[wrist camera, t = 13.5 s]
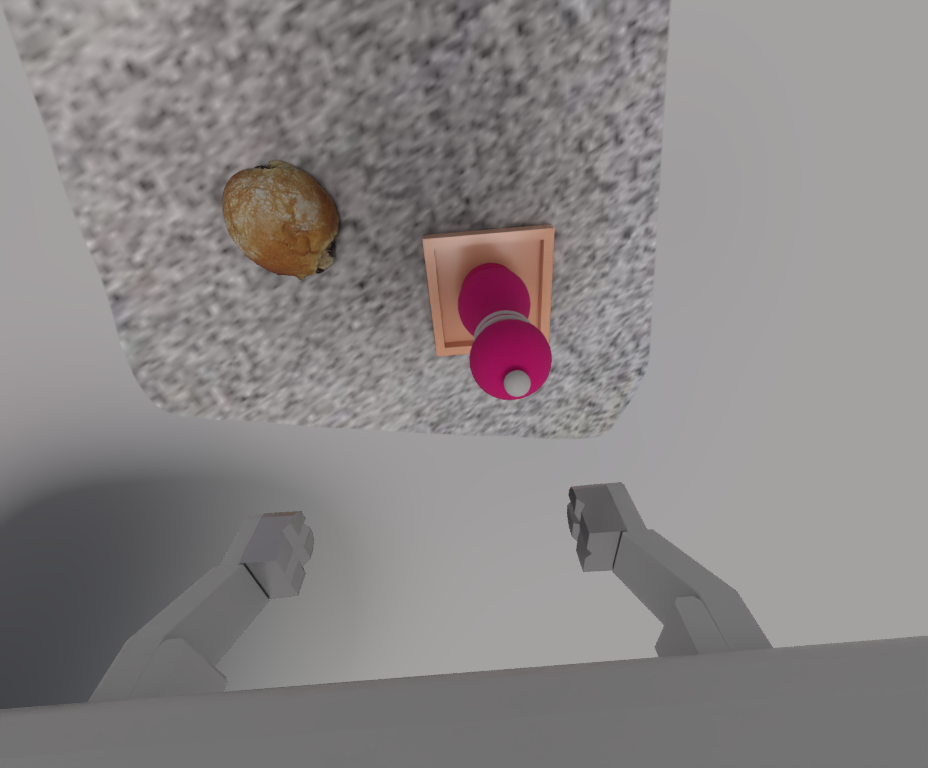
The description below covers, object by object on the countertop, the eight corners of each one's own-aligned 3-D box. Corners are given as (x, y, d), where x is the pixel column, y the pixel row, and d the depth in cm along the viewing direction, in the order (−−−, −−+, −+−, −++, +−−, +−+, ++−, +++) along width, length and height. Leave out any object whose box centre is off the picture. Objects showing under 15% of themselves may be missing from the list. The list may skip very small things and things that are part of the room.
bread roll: (333, 168, 38) (292, 125, 30) (361, 268, 39) (328, 251, 31) (246, 196, 39) (183, 161, 31) (275, 293, 40) (222, 282, 32)
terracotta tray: (423, 234, 38) (422, 239, 36) (549, 224, 38) (554, 227, 36) (437, 347, 45) (437, 356, 43) (544, 339, 45) (548, 347, 43)
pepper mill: (522, 254, 39) (579, 334, 22) (522, 318, 43) (571, 429, 26) (453, 261, 39) (457, 346, 22) (460, 325, 43) (468, 438, 26)
